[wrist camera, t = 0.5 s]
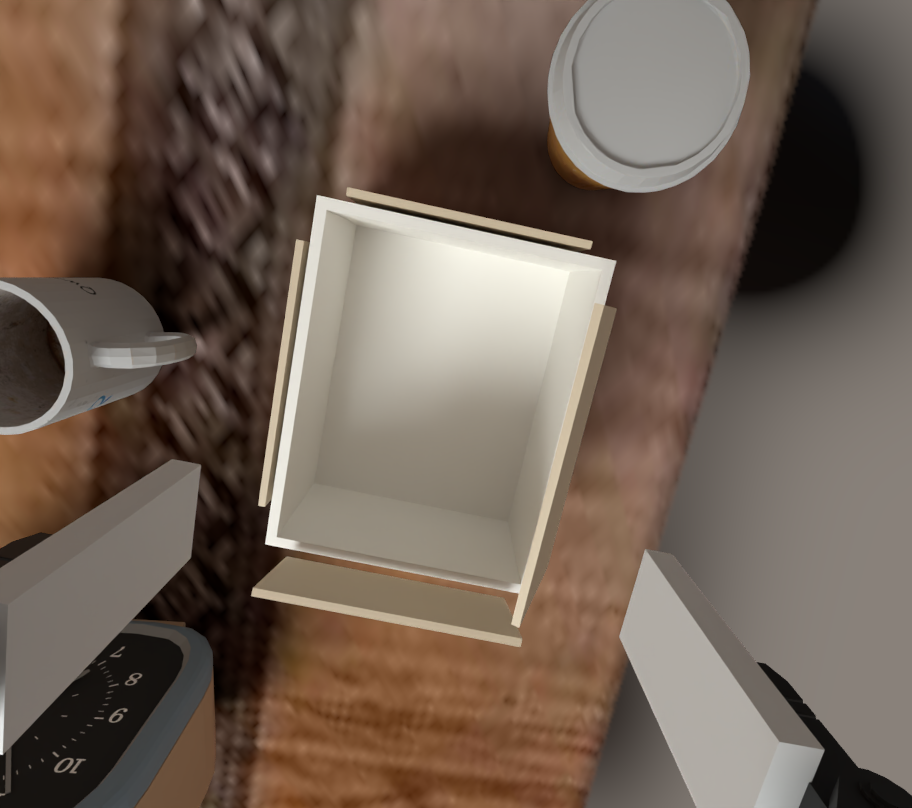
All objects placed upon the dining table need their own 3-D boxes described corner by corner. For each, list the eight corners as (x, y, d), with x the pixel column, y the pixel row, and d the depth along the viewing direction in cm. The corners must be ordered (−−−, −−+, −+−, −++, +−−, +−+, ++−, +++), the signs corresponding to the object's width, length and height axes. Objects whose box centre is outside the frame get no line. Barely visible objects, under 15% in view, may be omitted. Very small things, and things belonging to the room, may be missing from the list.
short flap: (253, 587, 27) (251, 595, 27) (522, 638, 27) (520, 646, 27) (286, 556, 33) (285, 563, 33) (504, 598, 34) (502, 604, 34)
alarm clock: (241, 614, 45) (54, 906, 24) (243, 716, 47) (72, 1066, 26) (-18, 598, 45) (-434, 879, 24) (-5, 701, 47) (-377, 1043, 26)
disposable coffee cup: (688, 171, 38) (791, 125, 26) (560, 240, 39) (604, 225, 27) (631, 31, 36) (713, -86, 25) (497, 107, 37) (516, 29, 26)
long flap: (594, 302, 23) (604, 305, 23) (609, 307, 30) (616, 308, 30) (511, 624, 27) (519, 627, 27) (540, 564, 33) (547, 567, 33)
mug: (41, 384, 41) (-88, 417, 32) (48, 265, 40) (-86, 261, 30) (208, 419, 42) (133, 462, 32) (223, 303, 40) (148, 312, 30)
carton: (342, 202, 39) (305, 177, 29) (581, 254, 39) (620, 247, 30) (298, 484, 43) (252, 542, 34) (512, 526, 44) (528, 596, 34)
